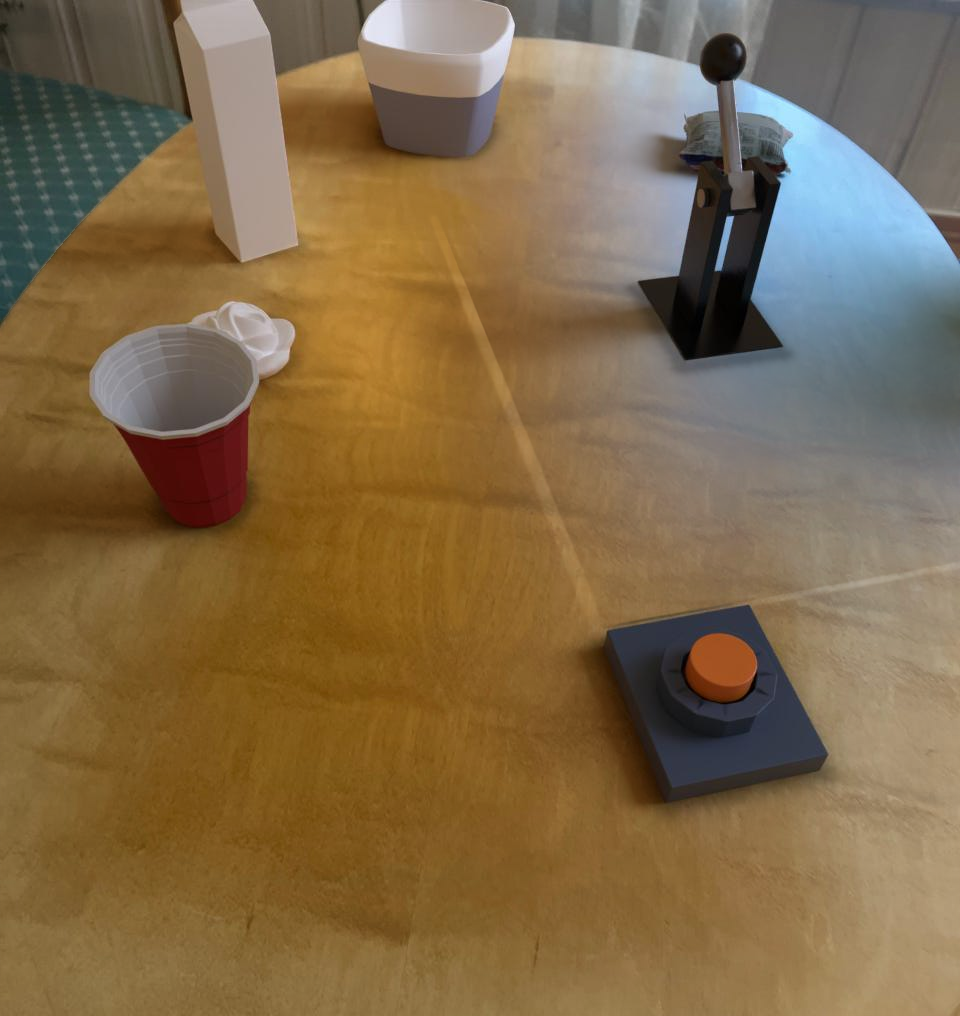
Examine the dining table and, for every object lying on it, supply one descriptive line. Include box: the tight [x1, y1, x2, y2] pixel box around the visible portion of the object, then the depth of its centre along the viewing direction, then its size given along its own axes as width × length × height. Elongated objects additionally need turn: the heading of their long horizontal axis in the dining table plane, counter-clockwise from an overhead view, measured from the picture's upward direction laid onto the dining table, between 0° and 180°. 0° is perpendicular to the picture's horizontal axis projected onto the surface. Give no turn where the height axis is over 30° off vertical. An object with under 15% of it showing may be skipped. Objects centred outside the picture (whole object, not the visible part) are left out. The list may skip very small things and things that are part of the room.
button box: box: [603, 604, 829, 804], centre depth 63 cm, size 12×10×4 cm
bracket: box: [638, 156, 784, 361], centre depth 84 cm, size 12×9×14 cm
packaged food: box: [676, 110, 794, 176], centre depth 106 cm, size 9×12×5 cm
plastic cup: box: [89, 323, 260, 529], centre depth 70 cm, size 11×11×12 cm
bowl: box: [357, 0, 516, 158], centre depth 106 cm, size 15×15×11 cm
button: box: [685, 633, 757, 703], centre depth 61 cm, size 4×4×2 cm
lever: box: [698, 32, 756, 218], centre depth 79 cm, size 13×4×4 cm
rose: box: [186, 301, 296, 381], centre depth 84 cm, size 10×4×10 cm
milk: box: [172, 0, 299, 264], centre depth 88 cm, size 6×6×22 cm
